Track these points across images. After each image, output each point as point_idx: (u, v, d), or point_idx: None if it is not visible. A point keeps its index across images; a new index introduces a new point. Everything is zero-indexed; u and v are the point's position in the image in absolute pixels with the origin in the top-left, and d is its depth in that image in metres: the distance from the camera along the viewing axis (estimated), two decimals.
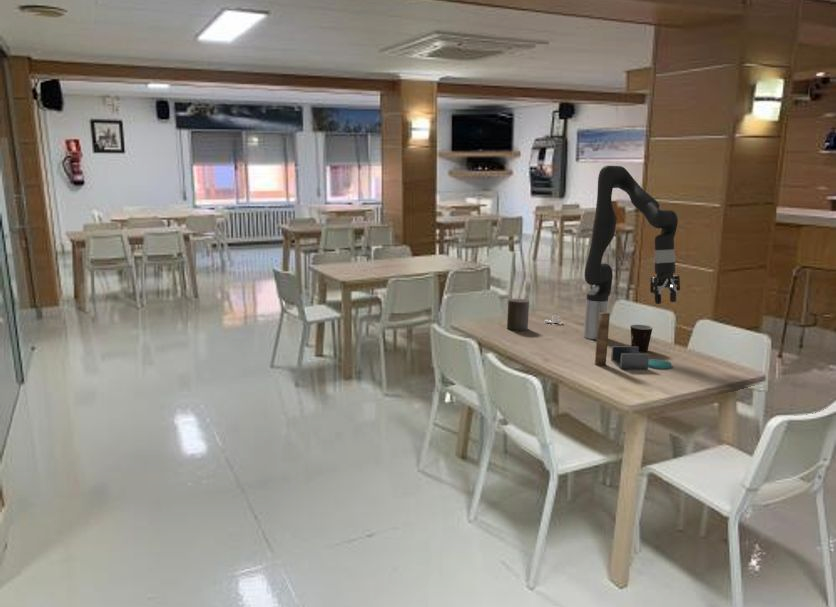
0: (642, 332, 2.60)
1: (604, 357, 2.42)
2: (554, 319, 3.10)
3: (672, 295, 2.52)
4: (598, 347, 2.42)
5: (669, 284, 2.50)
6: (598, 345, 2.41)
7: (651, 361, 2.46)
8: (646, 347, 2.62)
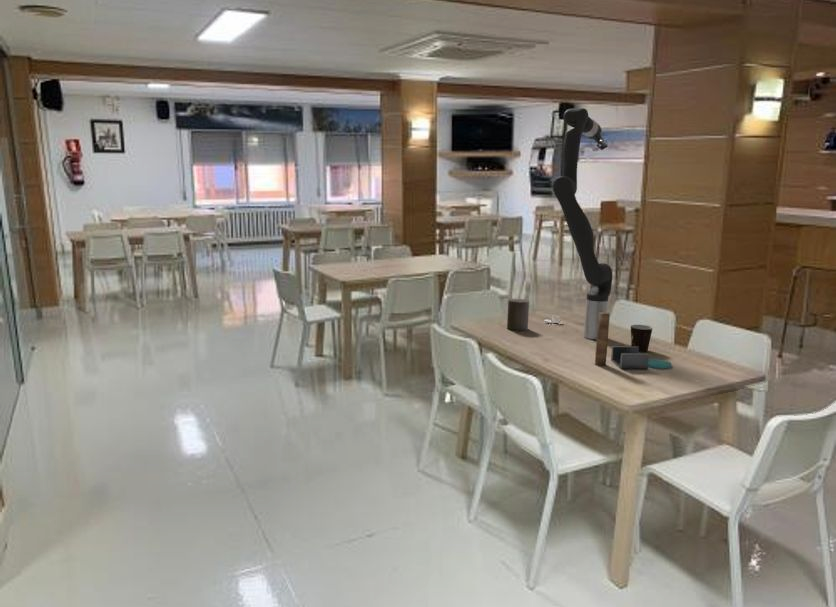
0: (642, 332, 2.60)
1: (604, 357, 2.42)
2: (554, 319, 3.10)
3: None
4: (598, 347, 2.42)
5: None
6: (598, 345, 2.41)
7: (651, 361, 2.46)
8: (646, 347, 2.62)
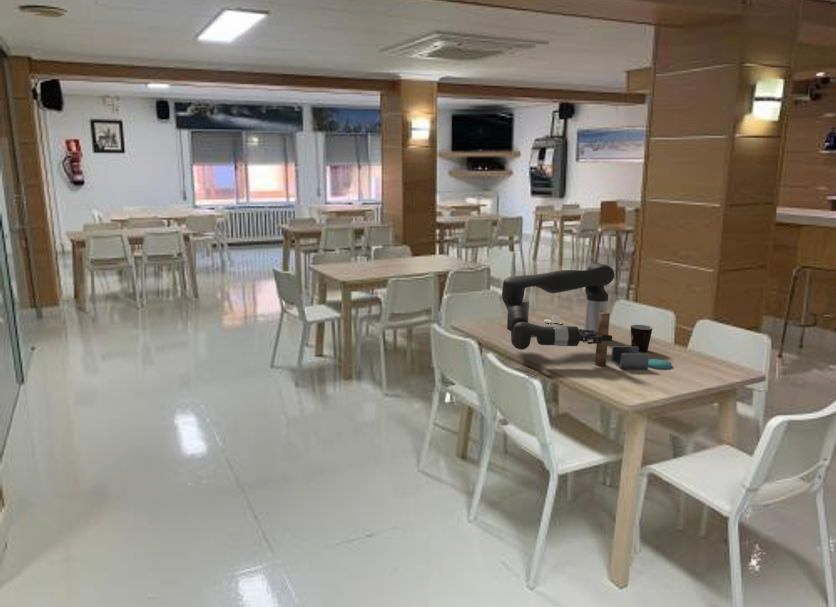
0: (642, 332, 2.60)
1: (604, 357, 2.42)
2: (554, 319, 3.11)
3: None
4: (598, 347, 2.42)
5: None
6: (598, 345, 2.41)
7: (651, 361, 2.46)
8: (646, 347, 2.62)
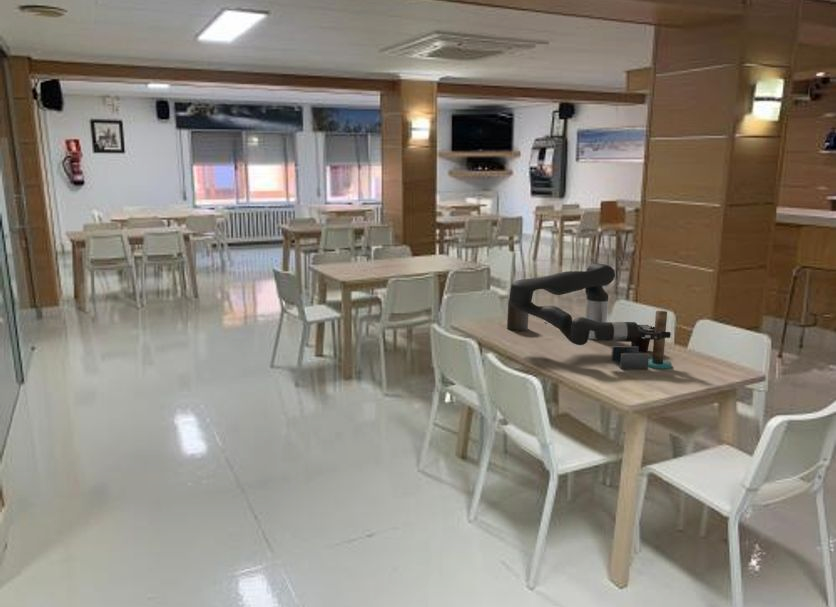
0: None
1: (662, 355, 2.42)
2: None
3: None
4: (655, 345, 2.42)
5: None
6: (655, 343, 2.42)
7: (651, 361, 2.46)
8: (646, 347, 2.62)
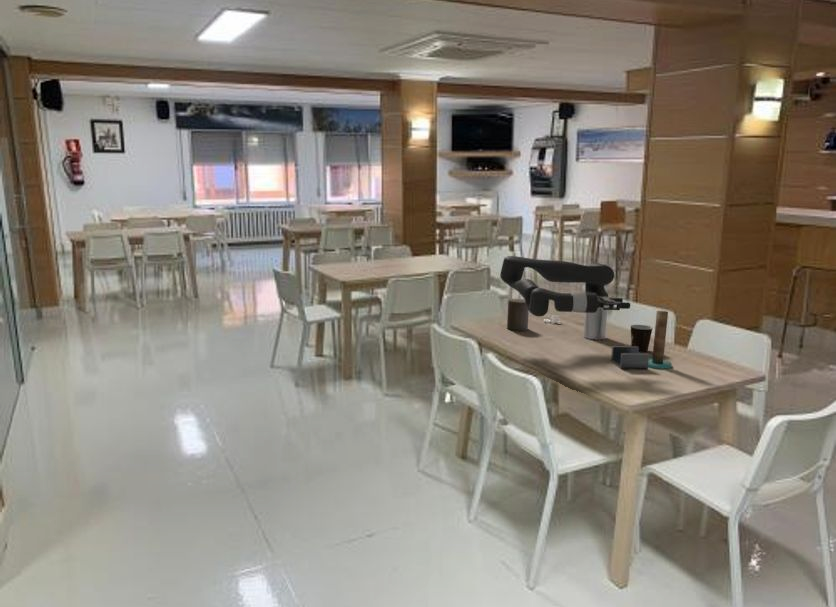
0: (642, 332, 2.60)
1: (662, 355, 2.42)
2: (553, 318, 3.12)
3: None
4: (656, 345, 2.42)
5: None
6: (656, 343, 2.42)
7: (651, 361, 2.46)
8: (646, 347, 2.62)
